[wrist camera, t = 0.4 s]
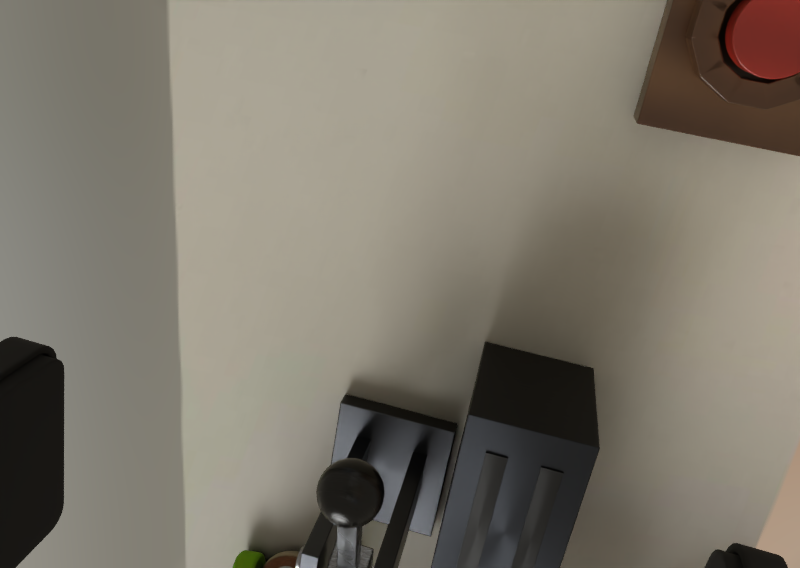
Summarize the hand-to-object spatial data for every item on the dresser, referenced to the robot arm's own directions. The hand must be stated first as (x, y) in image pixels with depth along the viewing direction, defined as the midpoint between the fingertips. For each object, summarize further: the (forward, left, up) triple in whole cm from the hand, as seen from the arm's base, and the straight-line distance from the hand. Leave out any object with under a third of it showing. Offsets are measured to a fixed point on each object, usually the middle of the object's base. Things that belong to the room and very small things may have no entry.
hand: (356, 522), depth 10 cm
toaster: (+21, +5, -35) cm, 41 cm away
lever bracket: (+25, -3, -35) cm, 43 cm away
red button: (-7, +11, -31) cm, 33 cm away
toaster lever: (+19, -3, -23) cm, 30 cm away
